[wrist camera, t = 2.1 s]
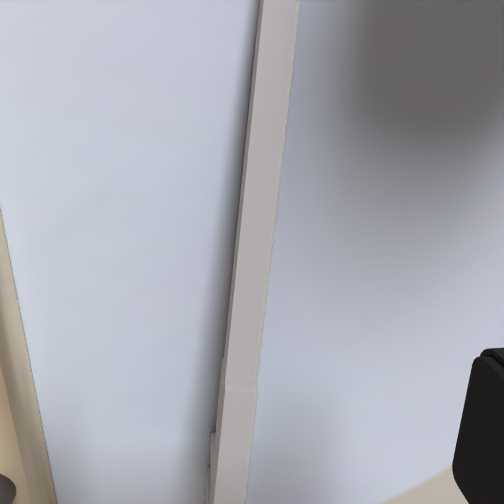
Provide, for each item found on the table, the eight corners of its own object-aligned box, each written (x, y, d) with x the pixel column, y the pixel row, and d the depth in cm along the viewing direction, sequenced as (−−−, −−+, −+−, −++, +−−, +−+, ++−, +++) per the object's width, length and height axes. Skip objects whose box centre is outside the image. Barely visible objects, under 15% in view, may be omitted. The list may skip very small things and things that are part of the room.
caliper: (230, 471, 20) (238, 632, 15) (205, 470, 20) (202, 632, 14) (305, -89, 13) (377, -211, 7) (266, -95, 13) (309, -225, 7)
